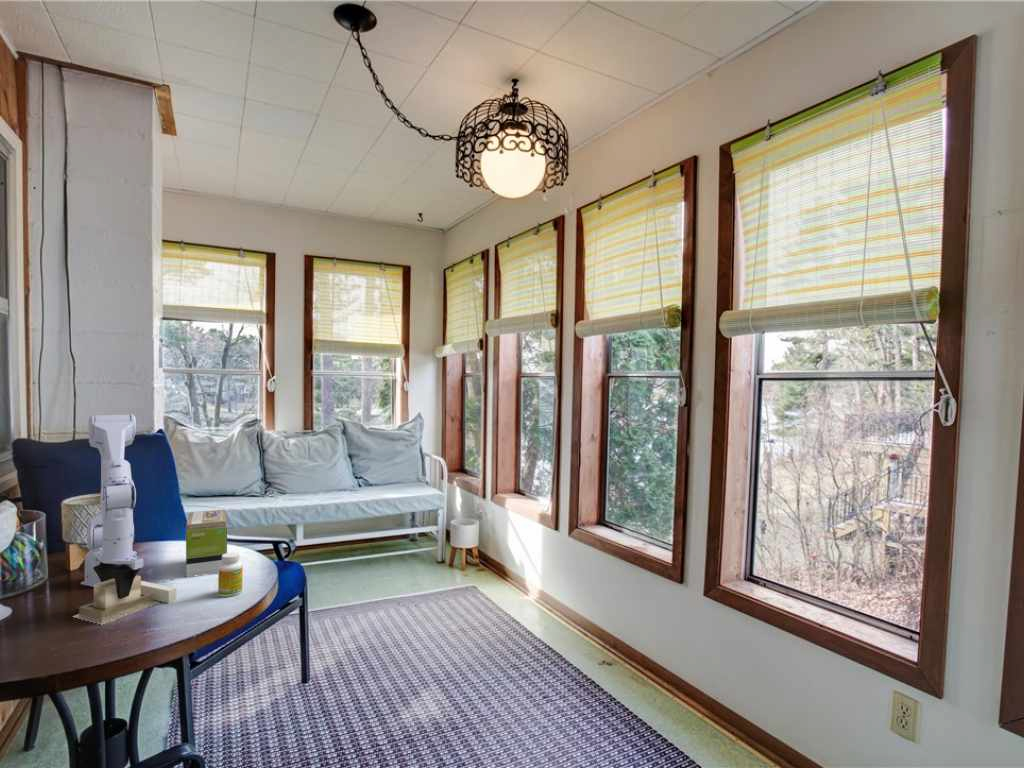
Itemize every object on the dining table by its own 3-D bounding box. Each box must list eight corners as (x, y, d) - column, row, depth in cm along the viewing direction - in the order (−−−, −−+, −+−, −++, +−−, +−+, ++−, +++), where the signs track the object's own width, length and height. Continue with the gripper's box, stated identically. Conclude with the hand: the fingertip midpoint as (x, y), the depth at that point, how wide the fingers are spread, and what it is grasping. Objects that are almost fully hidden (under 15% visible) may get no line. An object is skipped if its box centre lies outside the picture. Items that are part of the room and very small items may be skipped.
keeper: (72, 617, 126) (72, 607, 126) (129, 597, 138) (130, 587, 138) (102, 625, 122) (102, 614, 122) (158, 603, 134) (158, 593, 134)
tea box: (188, 561, 165) (188, 511, 165) (226, 557, 170) (227, 508, 169) (185, 578, 152) (185, 523, 151) (226, 572, 156) (227, 519, 156)
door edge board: (112, 590, 142) (112, 578, 142) (120, 588, 144) (120, 576, 144) (168, 603, 135) (168, 590, 135) (176, 600, 136) (176, 588, 136)
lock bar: (93, 606, 127) (93, 584, 127) (128, 594, 135) (129, 573, 135) (105, 609, 126) (105, 587, 126) (140, 597, 133) (140, 576, 133)
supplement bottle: (232, 598, 138) (232, 558, 138) (213, 596, 139) (213, 557, 139) (246, 590, 144) (247, 552, 143) (228, 588, 145) (228, 550, 145)
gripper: (156, 536, 131) (155, 594, 131) (114, 529, 136) (113, 585, 136) (125, 544, 124) (125, 605, 125) (82, 536, 130) (82, 595, 130)
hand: (117, 595), depth 130 cm, fingers closed on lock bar, 4 cm apart
